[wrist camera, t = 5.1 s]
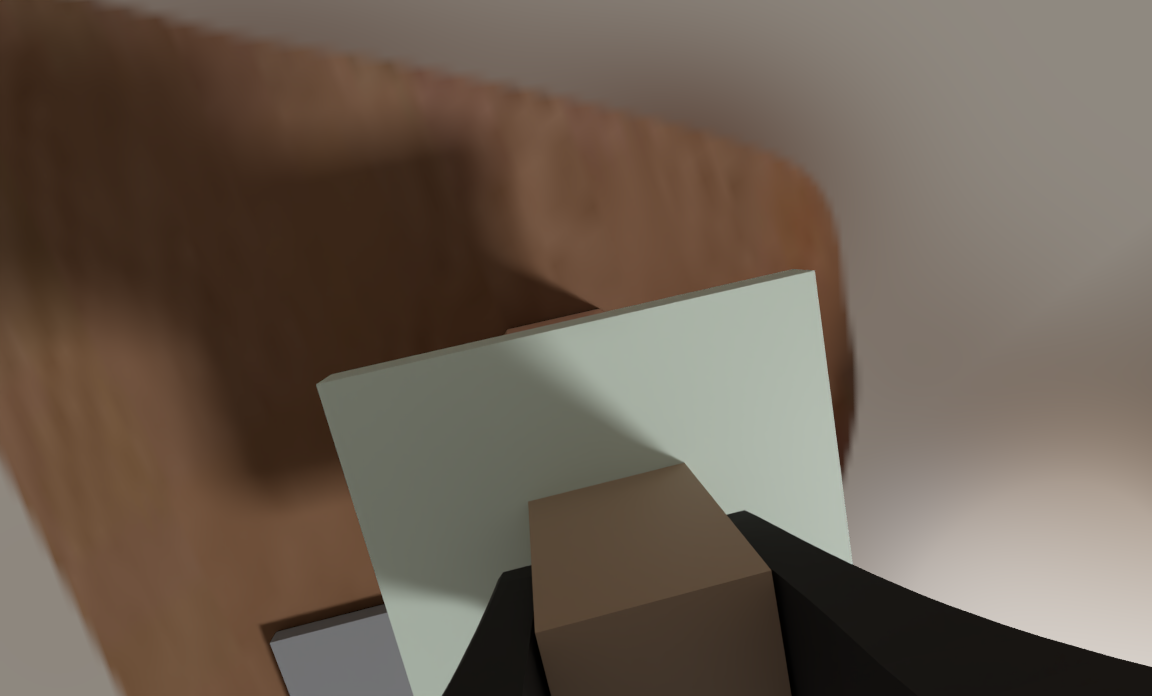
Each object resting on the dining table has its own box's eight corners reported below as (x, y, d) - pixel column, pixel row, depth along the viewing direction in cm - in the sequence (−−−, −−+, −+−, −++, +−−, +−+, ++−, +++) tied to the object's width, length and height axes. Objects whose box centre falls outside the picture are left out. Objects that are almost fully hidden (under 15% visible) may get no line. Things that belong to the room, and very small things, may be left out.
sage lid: (846, 662, 13) (1021, 877, 8) (453, 772, 12) (418, 1068, 8) (793, 269, 11) (976, 279, 7) (331, 374, 10) (197, 462, 6)
